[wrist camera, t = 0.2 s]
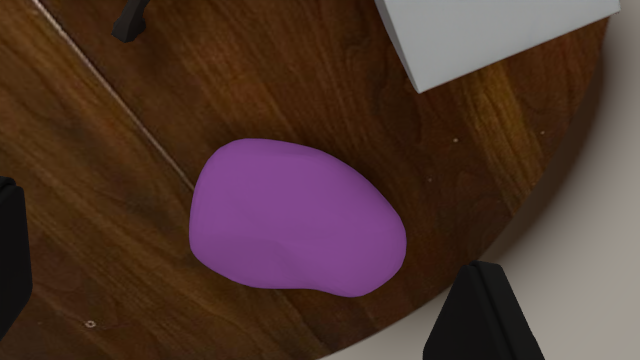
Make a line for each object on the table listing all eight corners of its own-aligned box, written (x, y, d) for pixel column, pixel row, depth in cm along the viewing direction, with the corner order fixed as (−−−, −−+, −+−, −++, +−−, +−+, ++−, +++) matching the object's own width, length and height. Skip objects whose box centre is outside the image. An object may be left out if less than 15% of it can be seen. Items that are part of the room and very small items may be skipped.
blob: (426, 212, 35) (441, 259, 31) (325, 302, 40) (325, 354, 35) (257, 86, 31) (247, 120, 26) (163, 204, 35) (141, 250, 31)
